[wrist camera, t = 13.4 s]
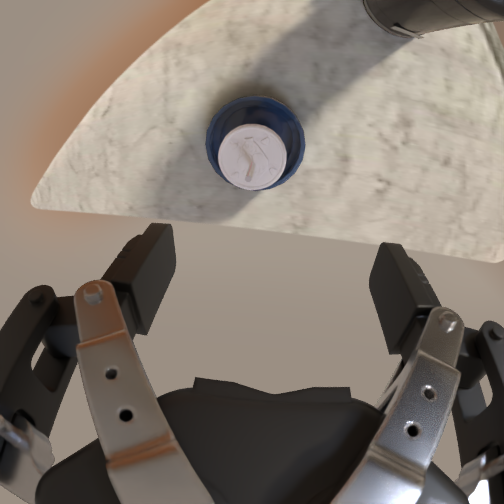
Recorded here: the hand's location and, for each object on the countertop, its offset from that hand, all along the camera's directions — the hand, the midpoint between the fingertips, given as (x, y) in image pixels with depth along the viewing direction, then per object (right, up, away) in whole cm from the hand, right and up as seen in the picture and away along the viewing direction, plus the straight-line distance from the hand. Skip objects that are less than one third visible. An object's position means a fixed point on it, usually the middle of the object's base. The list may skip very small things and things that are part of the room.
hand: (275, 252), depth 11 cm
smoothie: (0, +14, +23) cm, 27 cm away
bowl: (0, +14, +23) cm, 27 cm away
